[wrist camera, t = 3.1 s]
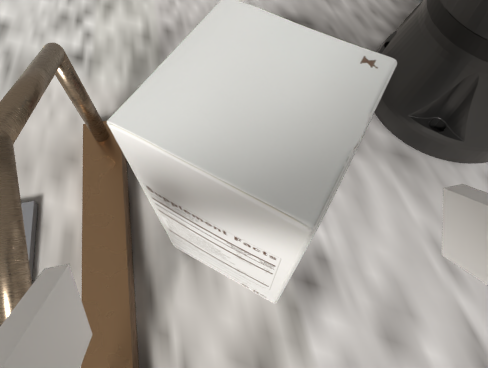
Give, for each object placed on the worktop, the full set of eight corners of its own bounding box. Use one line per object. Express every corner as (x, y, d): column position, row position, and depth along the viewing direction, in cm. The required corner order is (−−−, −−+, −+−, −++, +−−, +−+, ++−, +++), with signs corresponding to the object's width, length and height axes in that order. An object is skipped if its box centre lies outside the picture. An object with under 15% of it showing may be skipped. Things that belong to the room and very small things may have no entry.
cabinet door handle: (124, 129, 31) (43, -43, 18) (142, 421, 21) (-13, 503, 8) (89, 134, 31) (-18, -37, 18) (90, 434, 21) (-158, 540, 8)
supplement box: (230, 156, 30) (224, -14, 17) (327, 204, 28) (407, 55, 15) (168, 245, 26) (95, 117, 13) (274, 309, 24) (319, 233, 11)
